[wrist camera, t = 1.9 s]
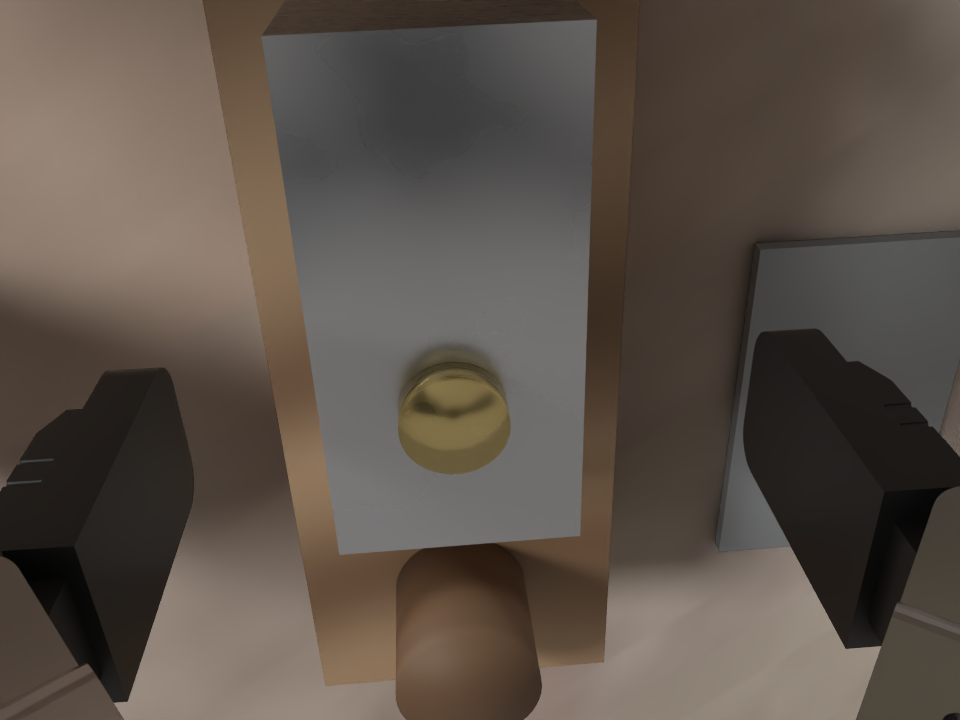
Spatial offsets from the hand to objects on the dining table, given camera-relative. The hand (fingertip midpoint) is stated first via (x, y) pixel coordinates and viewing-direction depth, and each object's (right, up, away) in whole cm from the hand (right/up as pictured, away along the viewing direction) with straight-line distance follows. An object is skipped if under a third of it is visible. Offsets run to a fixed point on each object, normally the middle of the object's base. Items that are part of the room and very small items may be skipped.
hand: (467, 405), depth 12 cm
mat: (+10, -1, +13) cm, 16 cm away
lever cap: (-1, +3, +4) cm, 5 cm away
